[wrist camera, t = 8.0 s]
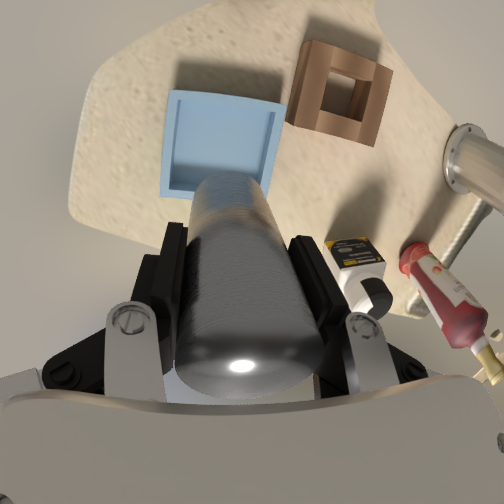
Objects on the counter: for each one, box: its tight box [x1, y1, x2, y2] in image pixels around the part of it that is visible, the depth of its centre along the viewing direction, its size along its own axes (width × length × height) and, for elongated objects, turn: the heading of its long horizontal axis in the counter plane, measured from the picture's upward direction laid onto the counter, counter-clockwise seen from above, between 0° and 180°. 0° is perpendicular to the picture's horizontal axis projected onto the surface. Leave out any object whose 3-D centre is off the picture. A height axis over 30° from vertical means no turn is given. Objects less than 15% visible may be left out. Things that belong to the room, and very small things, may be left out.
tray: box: [160, 89, 287, 200], centre depth 29 cm, size 12×12×4 cm
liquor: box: [399, 242, 504, 386], centre depth 32 cm, size 7×7×28 cm
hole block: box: [285, 39, 393, 147], centre depth 26 cm, size 10×10×4 cm
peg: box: [175, 171, 325, 399], centre depth 11 cm, size 4×4×10 cm
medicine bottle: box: [323, 237, 393, 320], centre depth 37 cm, size 7×7×12 cm
